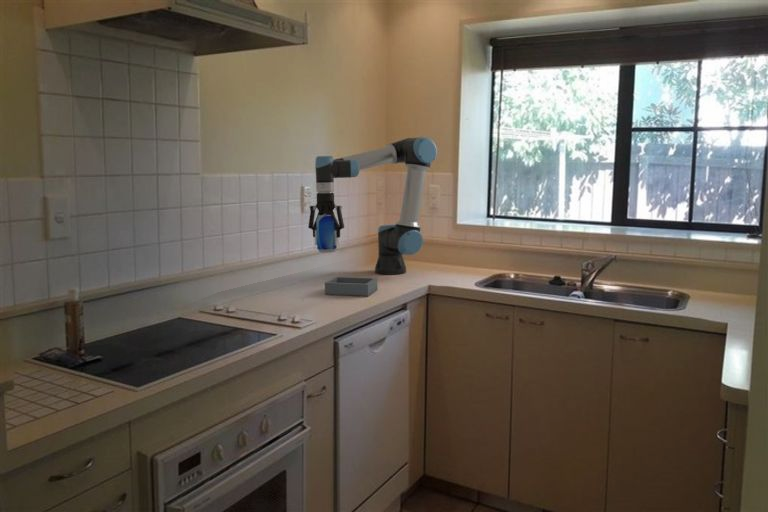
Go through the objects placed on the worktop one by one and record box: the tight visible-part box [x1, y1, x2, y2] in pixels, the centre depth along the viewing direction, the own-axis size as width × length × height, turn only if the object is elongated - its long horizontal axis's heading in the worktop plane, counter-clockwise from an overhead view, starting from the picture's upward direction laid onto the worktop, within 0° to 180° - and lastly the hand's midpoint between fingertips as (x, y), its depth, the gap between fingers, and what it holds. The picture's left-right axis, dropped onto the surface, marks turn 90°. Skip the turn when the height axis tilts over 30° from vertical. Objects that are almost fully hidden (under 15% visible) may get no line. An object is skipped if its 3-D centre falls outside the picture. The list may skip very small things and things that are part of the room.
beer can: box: [315, 214, 338, 254], centre depth 284 cm, size 8×8×16 cm
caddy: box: [324, 276, 378, 298], centre depth 272 cm, size 14×18×5 cm
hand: (326, 244), depth 285 cm, fingers closed on beer can, 8 cm apart
